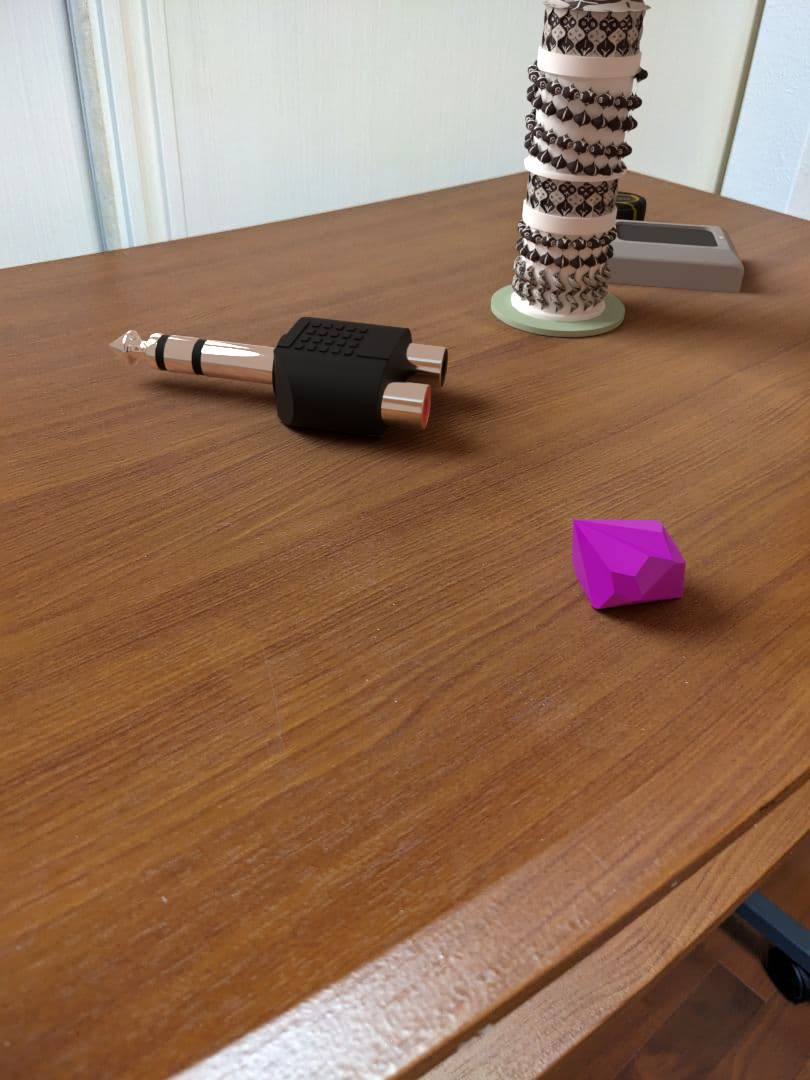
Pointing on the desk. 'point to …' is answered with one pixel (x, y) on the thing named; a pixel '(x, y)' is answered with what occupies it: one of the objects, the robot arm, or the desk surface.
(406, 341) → the audio adapter
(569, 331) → the coaster
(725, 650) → the desk surface
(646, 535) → the crystal
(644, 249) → the grey device with screen
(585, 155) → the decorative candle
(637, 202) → the tape measure
